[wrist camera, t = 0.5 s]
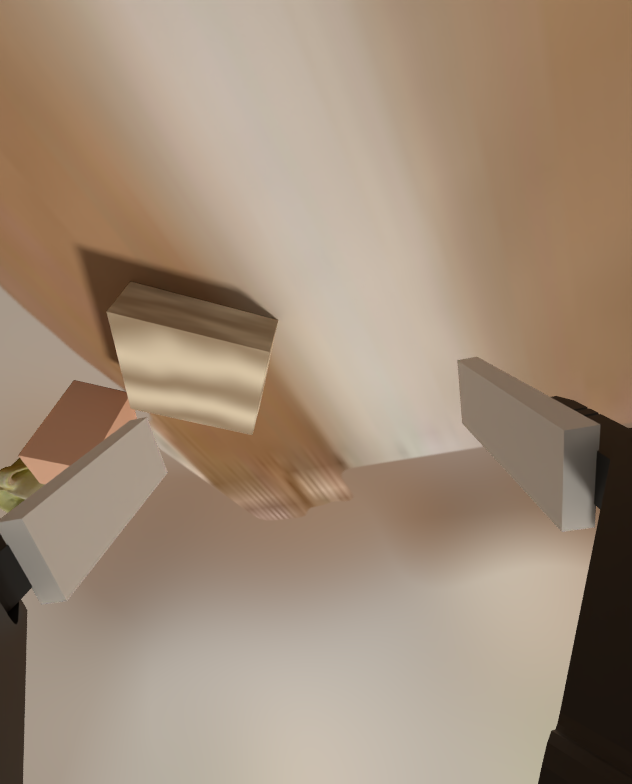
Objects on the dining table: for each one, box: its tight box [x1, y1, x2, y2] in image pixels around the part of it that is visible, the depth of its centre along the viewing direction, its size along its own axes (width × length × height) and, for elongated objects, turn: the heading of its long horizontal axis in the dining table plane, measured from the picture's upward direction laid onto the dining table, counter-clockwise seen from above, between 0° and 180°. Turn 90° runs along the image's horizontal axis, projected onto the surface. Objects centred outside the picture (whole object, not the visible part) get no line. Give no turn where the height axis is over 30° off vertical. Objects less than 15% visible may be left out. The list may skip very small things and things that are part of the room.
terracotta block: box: [18, 380, 137, 484], centre depth 44 cm, size 7×7×11 cm
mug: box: [0, 458, 45, 513], centre depth 62 cm, size 12×10×10 cm
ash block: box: [107, 281, 278, 435], centre depth 38 cm, size 14×14×5 cm
